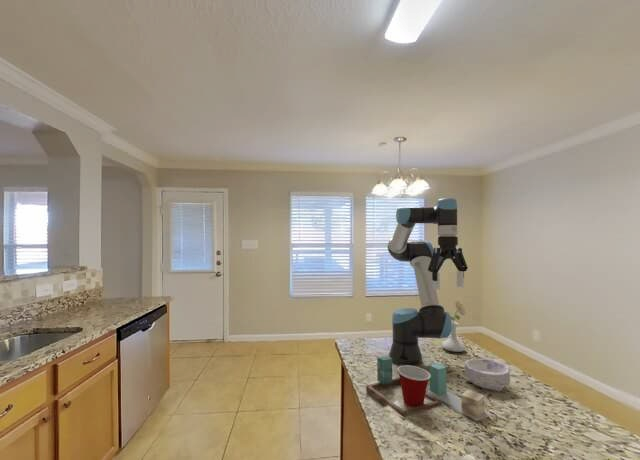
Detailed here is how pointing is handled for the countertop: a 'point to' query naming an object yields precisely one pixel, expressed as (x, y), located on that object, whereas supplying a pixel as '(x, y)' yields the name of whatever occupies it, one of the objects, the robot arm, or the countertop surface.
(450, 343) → the flower in vase
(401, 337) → the robot arm
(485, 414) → the sled
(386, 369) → the frame
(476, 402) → the beech cube
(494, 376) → the paper bowls
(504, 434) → the countertop surface
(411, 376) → the plastic cup
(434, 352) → the countertop surface
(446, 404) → the divider rail
